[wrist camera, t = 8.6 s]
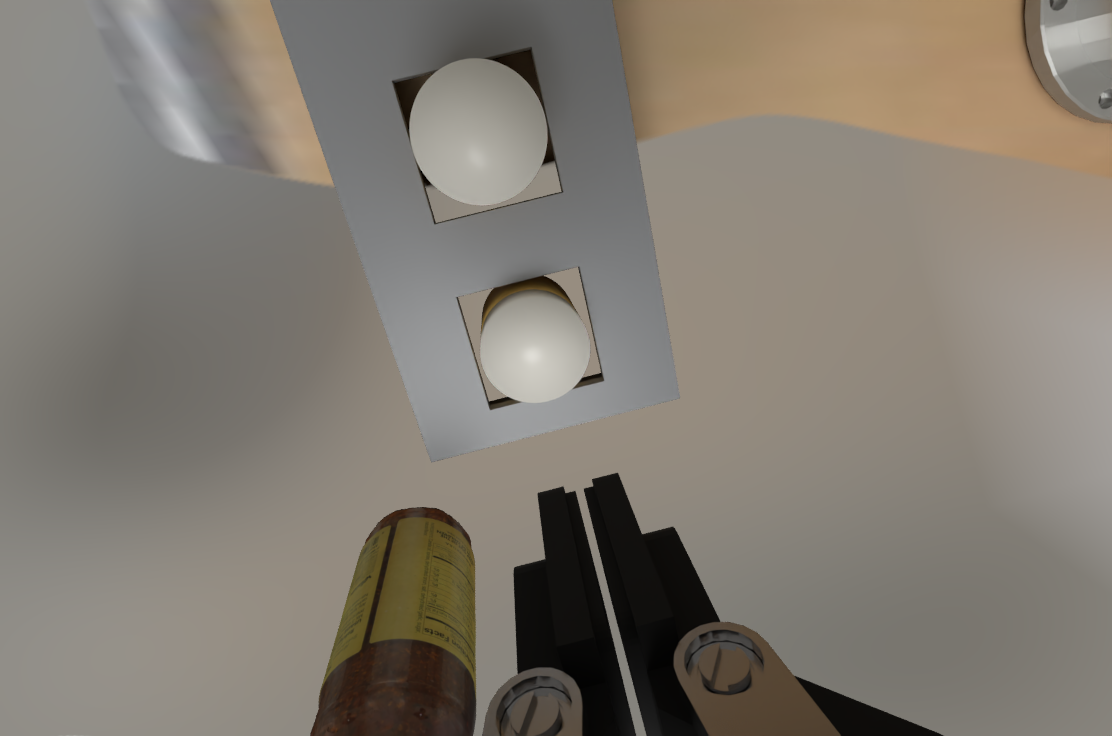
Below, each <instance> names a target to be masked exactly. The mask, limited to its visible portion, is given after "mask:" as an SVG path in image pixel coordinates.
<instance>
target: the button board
mask: <svg viewBox="0 0 1112 736" xmlns="http://www.w3.org/2000/svg"><path fill="white" fill-rule="evenodd" d="M270 2H271V5H272V8H273V11H274V13H275V16H276V19H277V22H278V25H279V28H280V31H281V33H282V36H283V39H284V42H285V45H286V48H287V51H288V54H289V56H290V59H291V62H292V65H293V68H294V71H295V74H296V76H297V79H298V82H299V85H300V88H301V91H302V94H303V97H304V99H305V102H306V105H307V108H308V111H309V114H310V117H311V119H312V122H313V125H314V128H315V131H316V134H317V137H318V139H319V142H320V145H321V148H322V151H323V154H324V157H325V160H326V162H327V165H328V168H329V171H330V174H331V177H332V180H333V182H334V185H335V188H336V191H337V194H338V197H339V200H340V203H341V205H342V208H343V211H344V214H345V217H346V220H347V223H348V225H349V228H350V230H351V234H352V237H353V240H354V242H355V245H356V248H357V251H358V254H359V257H360V260H361V263H362V266H363V268H364V271H365V274H366V277H367V280H368V283H369V286H370V288H371V291H372V294H373V297H374V300H375V303H376V306H377V308H378V311H379V314H380V317H381V320H382V323H383V326H384V329H385V331H386V334H387V337H388V340H389V343H390V346H391V348H392V351H393V354H394V357H395V360H396V363H397V366H398V368H399V372H400V374H401V377H402V380H403V383H404V386H405V389H406V391H407V394H408V397H409V400H410V403H411V406H412V409H413V412H414V414H415V417H416V420H417V423H418V426H419V429H420V432H421V435H422V437H423V440H424V443H425V446H426V449H427V452H428V454H429V457H430V460H431V462H435V461H438V460H442V459H446V458H450V457H454V456H458V455H462V454H466V453H469V452H474V451H477V450H481V449H485V448H489V447H493V446H497V445H501V444H505V443H509V442H512V441H516V440H520V439H524V438H528V437H532V436H536V435H539V434H543V433H547V432H551V431H555V430H559V429H563V428H566V427H571V426H574V425H578V424H582V423H586V422H590V421H594V420H598V419H602V418H606V417H610V416H613V415H617V414H621V413H625V412H629V411H633V410H637V409H641V408H645V407H648V406H652V405H656V404H660V403H664V402H668V401H672V400H676V399H679V398H680V395H679V389H678V383H677V377H676V371H675V365H674V360H673V355H672V348H671V342H670V336H669V331H668V325H667V319H666V313H665V307H664V301H663V295H662V289H661V284H660V278H659V272H658V266H657V260H656V254H655V248H654V243H653V237H652V231H651V225H650V219H649V214H648V207H647V203H646V202H647V201H646V196H645V190H644V184H643V178H642V172H641V166H640V160H639V155H638V149H637V143H636V137H635V131H634V125H633V120H632V114H631V108H630V102H629V96H628V90H627V84H626V79H625V73H624V67H623V61H622V55H621V49H620V43H619V38H618V32H617V26H616V20H615V14H614V8H613V2H612V0H270ZM527 50H531V54H532V58H533V63H534V67H535V72H536V76H537V81H538V86H539V90H540V95H541V99H542V104H543V108H544V113H545V118H546V122H547V127H548V131H549V136H550V140H551V145H552V150H553V154H554V159H555V163H556V168H557V172H558V176H559V181H560V186H561V191H562V192H559V193H555V194H551V195H547V196H543V197H539V198H535V199H531V200H527V201H523V202H519V203H515V204H511V205H507V206H503V207H499V208H495V209H491V210H487V211H483V212H479V213H475V214H471V215H467V216H463V217H458V218H455V219H451V220H447V221H443V222H439V223H436V222H435V219H434V215H433V212H432V209H431V206H430V202H429V199H428V195H427V192H426V188H425V185H424V182H423V178H422V175H421V172H420V168H419V165H418V163H417V161H416V159H415V156H414V153H413V150H412V146H411V142H410V135H409V131H408V128H407V125H406V121H405V118H404V114H403V111H402V108H401V104H400V101H399V98H398V94H397V91H396V88H395V84H394V83H395V82H399V81H403V80H408V79H412V78H416V77H420V76H424V75H428V74H432V73H435V72H436V71H438V70H439V69H441V68H442V67H444V66H446V65H448V64H450V63H452V62H456V61H459V60H463V59H469V58H480V59H488V60H490V59H494V58H498V57H502V56H506V55H510V54H514V53H518V52H522V51H527ZM575 267H578V268H579V273H580V277H581V282H582V286H583V291H584V295H585V300H586V305H587V309H588V314H589V319H590V323H591V327H592V332H593V336H594V341H595V346H596V350H597V355H598V359H599V364H600V369H601V373H599V374H595V375H592V376H587V377H584V378H581V379H580V381H579V382H578V383H577V384H576V385H575V386H574V388H572V389H571V390H570V391H569V392H567V393H566V394H564V395H563V396H561V397H559V398H556V399H554V400H551V401H547V402H542V403H526V402H521V401H517V400H514V399H512V398H510V397H505V398H501V399H497V400H494V401H490V402H489V401H488V397H487V394H486V390H485V387H484V384H483V380H482V377H481V374H480V370H479V367H478V364H477V360H476V357H475V353H474V350H473V347H472V343H471V340H470V337H469V333H468V330H467V327H466V323H465V320H464V316H463V313H462V310H461V306H460V303H459V300H458V297H460V296H464V295H468V294H471V293H476V292H480V291H484V290H488V289H492V288H496V287H500V286H503V285H507V284H511V283H515V282H519V281H523V280H527V279H531V278H535V277H539V276H543V275H547V274H551V273H555V272H559V271H563V270H567V269H571V268H575Z"/></svg>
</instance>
